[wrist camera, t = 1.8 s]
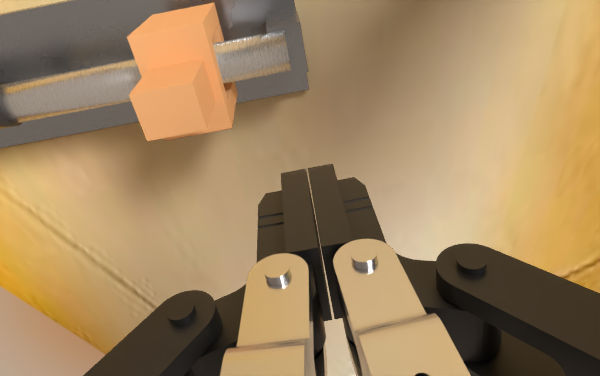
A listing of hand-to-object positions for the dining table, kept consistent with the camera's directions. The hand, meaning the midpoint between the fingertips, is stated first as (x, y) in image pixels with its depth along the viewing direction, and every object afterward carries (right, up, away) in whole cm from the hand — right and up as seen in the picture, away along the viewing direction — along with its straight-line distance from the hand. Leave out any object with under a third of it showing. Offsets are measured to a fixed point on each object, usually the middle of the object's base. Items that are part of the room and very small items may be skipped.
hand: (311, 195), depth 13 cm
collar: (-7, +9, +17) cm, 20 cm away
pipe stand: (-13, +10, +19) cm, 25 cm away
